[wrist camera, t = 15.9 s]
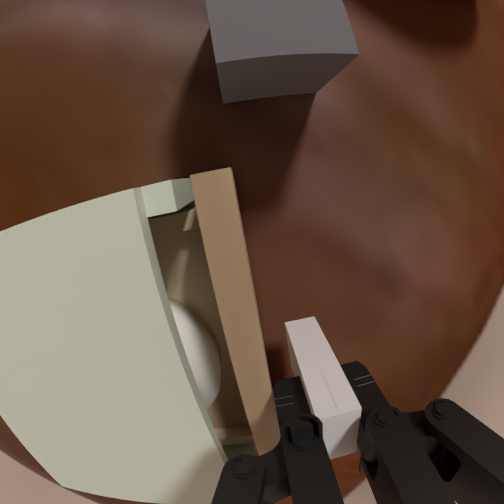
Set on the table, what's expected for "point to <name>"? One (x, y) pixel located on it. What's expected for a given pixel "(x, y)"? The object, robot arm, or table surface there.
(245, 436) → the wooden drawer
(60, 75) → the table surface
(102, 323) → the drawer cabinet
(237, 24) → the block
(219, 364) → the white smooth rounded piece
